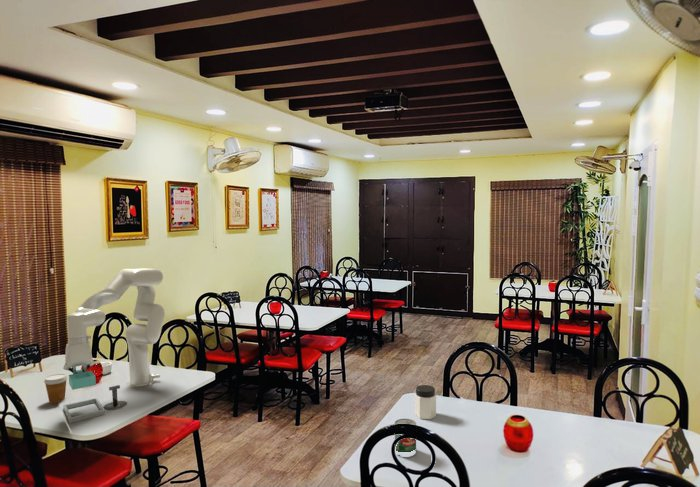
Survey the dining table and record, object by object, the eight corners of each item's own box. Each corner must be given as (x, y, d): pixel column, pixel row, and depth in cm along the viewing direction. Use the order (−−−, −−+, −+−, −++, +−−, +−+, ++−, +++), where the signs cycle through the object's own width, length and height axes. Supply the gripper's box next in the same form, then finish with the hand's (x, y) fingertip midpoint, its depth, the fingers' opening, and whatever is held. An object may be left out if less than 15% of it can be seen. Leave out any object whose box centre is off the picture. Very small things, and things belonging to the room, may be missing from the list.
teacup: (104, 370, 277) (104, 361, 276) (115, 372, 274) (114, 362, 274) (89, 376, 267) (89, 366, 267) (100, 378, 265) (100, 368, 264)
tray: (97, 404, 230) (96, 397, 229) (105, 416, 216) (104, 409, 215) (63, 411, 221) (63, 405, 221) (69, 425, 208) (69, 418, 207)
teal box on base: (89, 376, 227) (89, 367, 226) (95, 385, 216) (95, 376, 215) (67, 380, 221) (66, 371, 221) (72, 389, 210) (71, 380, 210)
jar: (422, 409, 218) (422, 383, 217) (439, 414, 213) (439, 387, 212) (411, 416, 211) (411, 389, 210) (428, 421, 206) (428, 393, 205)
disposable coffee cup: (44, 407, 227) (42, 381, 226) (46, 400, 236) (44, 375, 235) (68, 403, 231) (66, 378, 230) (69, 396, 240) (67, 372, 239)
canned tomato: (408, 460, 175) (407, 430, 175) (390, 452, 181) (390, 423, 180) (420, 451, 181) (420, 422, 180) (403, 444, 187) (402, 416, 186)
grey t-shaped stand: (124, 401, 232) (123, 380, 231) (129, 408, 224) (128, 387, 223) (101, 407, 226) (100, 386, 225) (105, 414, 218) (104, 392, 217)
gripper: (96, 335, 228) (98, 374, 229) (56, 341, 218) (58, 382, 219) (99, 338, 222) (101, 378, 223) (58, 345, 212) (60, 387, 213)
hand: (80, 380), depth 221 cm, fingers closed on teal box on base, 2 cm apart
